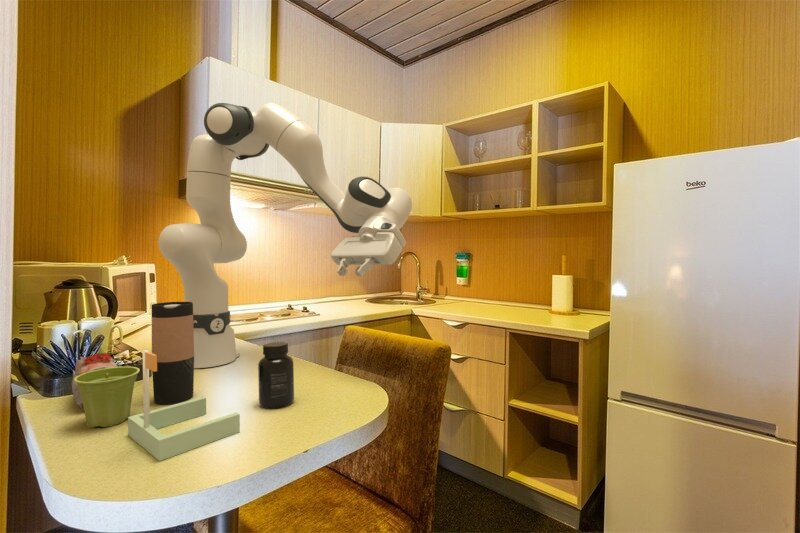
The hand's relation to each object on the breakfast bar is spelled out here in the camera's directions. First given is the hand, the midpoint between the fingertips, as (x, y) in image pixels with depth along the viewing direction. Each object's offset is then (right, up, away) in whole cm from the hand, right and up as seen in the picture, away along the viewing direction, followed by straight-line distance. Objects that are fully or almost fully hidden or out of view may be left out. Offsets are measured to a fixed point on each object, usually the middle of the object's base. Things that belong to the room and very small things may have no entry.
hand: (349, 274), depth 94 cm
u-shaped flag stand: (-23, -26, -29) cm, 45 cm away
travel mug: (-35, -26, -13) cm, 45 cm away
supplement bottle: (-13, -26, -15) cm, 33 cm away
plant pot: (-40, -26, -24) cm, 54 cm away
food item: (-50, -26, -14) cm, 58 cm away
